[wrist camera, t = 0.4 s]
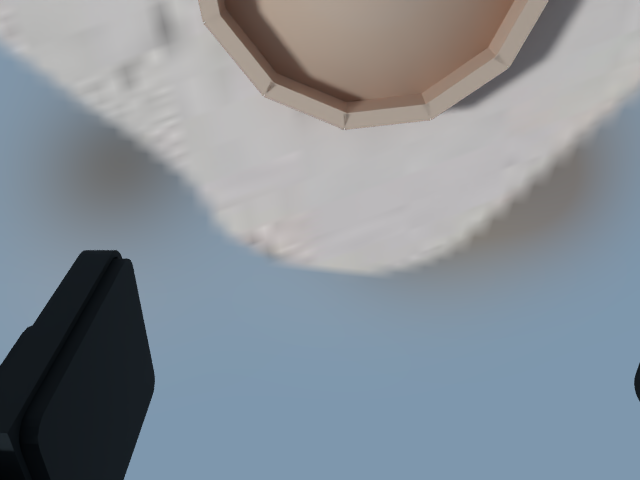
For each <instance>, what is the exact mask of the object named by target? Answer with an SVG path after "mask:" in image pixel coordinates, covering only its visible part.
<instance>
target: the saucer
mask: <svg viewBox="0 0 640 480" xmlns="http://www.w3.org/2000/svg"><path fill="white" fill-rule="evenodd" d="M548 1H549V0H198V2H199V6H200V11H201V16H202V20H203V22H205V23H204V25H205V26H206V27H207V28H208V30H209V31H210V32H211V33H212V34H213V36H214V37H215V38H216V39H217V41H218V42H219V43H220V44H221V45H222V47H223V48H224V49H225V50H226V52H227V53H228V54H229V55H230V56H231V58H232V59H233V60H234V61H235V63H236V64H237V65H238V66H239V67H240V69H241V70H242V71H243V72H244V74H245V75H246V76H247V77H248V78H249V80H250V81H251V82H252V83H253V85H254V86H255V87H256V88H257V89H258V91H259V92H260V93H261V94H262V96H264V95H265V96H264V97H265V98H268V99H270V100H273V101H275V102H278V103H280V104H282V105H285V106H287V107H290V108H292V109H295V110H297V111H299V112H302V113H304V114H307V115H309V116H312V117H314V118H316V119H319V120H321V121H324V122H326V123H329V124H331V125H334V126H336V127H338V128H341V129H343V130H344V128H345V130H348V129H357V128H366V127H375V126H384V125H393V124H402V123H411V122H420V121H429V120H430V118H431V120H432V119H434V118H435V117H437V116H438V115H440V114H441V113H443V112H444V111H446V110H447V109H449V108H450V107H452V106H453V105H455V104H456V103H458V102H459V101H460V100H462V99H463V98H465V97H466V96H468V95H469V94H471V93H472V92H474V91H475V90H477V89H478V88H480V87H481V86H483V85H484V84H486V83H487V82H489V81H490V80H492V79H493V78H495V77H496V76H498V75H499V74H501V73H502V72H504V71H505V70H507V69H508V67H510V66H511V64H512V62H513V61H514V59H515V57H516V56H517V54H518V52H519V50H520V49H521V47H522V45H523V44H524V42H525V40H526V39H527V37H528V35H529V33H530V32H531V30H532V28H533V27H534V25H535V23H536V22H537V20H538V18H539V16H540V15H541V13H542V11H543V10H544V8H545V6H546V4H547V3H548ZM507 66H508V67H507Z"/></svg>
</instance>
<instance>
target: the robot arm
mask: <svg viewBox="0 0 640 480" xmlns="http://www.w3.org/2000/svg"><path fill="white" fill-rule="evenodd" d="M154 384H155V376H154V370H153V365H152V359H151V354H150V349H149V344H148V339H147V335H146V330H145V324H144V320H143V314H142V310H141V304H140V300H139V294H138V289H137V284H136V279H135V275H134V269H133V265H132V262H131V260H130V259H122V257H121V254H120V253H119V252H118V251H117V250H114V251H113V250H110V251H109V250H86V251H83V252H82V253H81V254H80V255H79V256H78V258H77V259H76V261H75V262H74V264H73V265H72V267H71V268H70V270H69V271H68V273H67V274H66V276H65V277H64V279H63V280H62V282H61V284H60V285H59V287H58V288H57V289H56V291H55V293H54V294H53V296H52V297H51V298H50V300H49V302H48V303H47V305H46V306H45V308H44V309H43V311H42V312H41V314H40V315H39V317H38V318H37V320H36V321H35V323H34V324H33V326H30V327H28V328H27V329H26V330H25V331H24V332H23V333H22V334H21V336H20V337H19V339H18V340H17V342H16V343H15V345H14V346H13V348H12V349H11V351H10V352H9V354H8V355H7V357H6V358H5V360H4V361H3V363H2V364H1V365H0V480H124V477H125V474H126V471H127V468H128V465H129V462H130V459H131V456H132V453H133V451H134V448H135V445H136V442H137V439H138V436H139V433H140V430H141V427H142V424H143V421H144V419H145V416H146V413H147V410H148V407H149V404H150V401H151V398H152V395H153V392H154ZM634 385H635V391H636V394H637V397H638V399H639V401H640V364H639V367H638V369H637V372H636V375H635V381H634Z"/></svg>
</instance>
